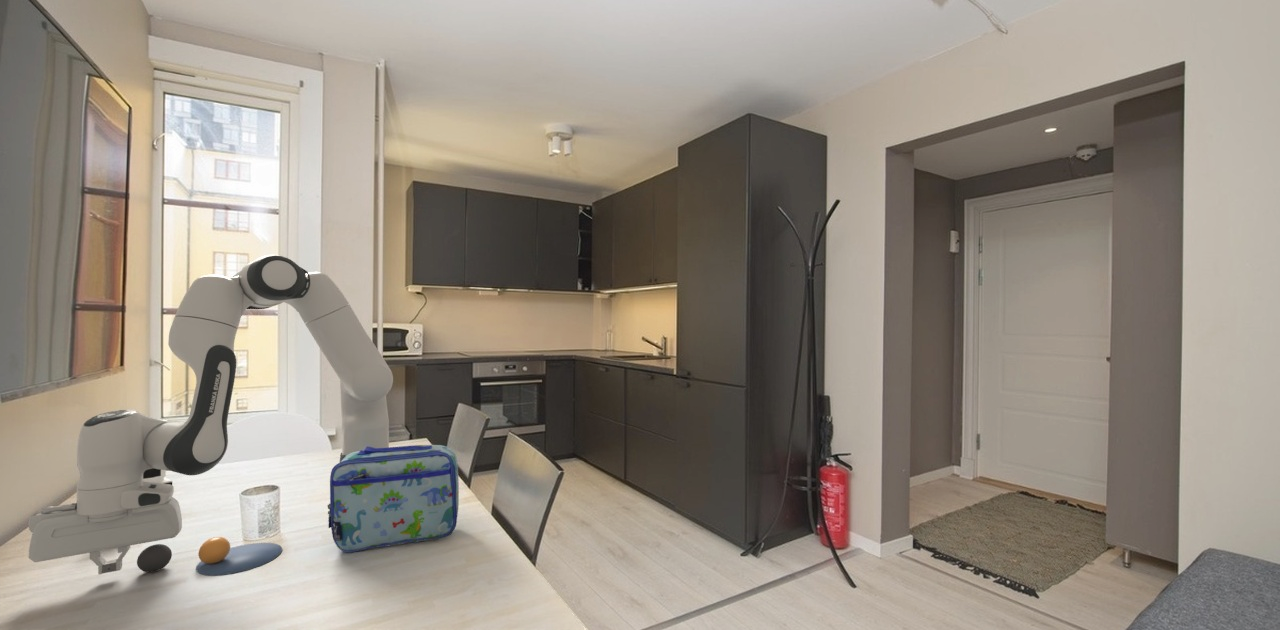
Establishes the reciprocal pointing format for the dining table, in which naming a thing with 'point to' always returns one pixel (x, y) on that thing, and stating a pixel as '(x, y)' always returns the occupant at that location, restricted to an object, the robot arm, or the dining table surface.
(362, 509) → the lunch box
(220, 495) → the dining table surface
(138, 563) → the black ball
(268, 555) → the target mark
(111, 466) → the robot arm
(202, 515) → the dining table surface
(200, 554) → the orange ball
